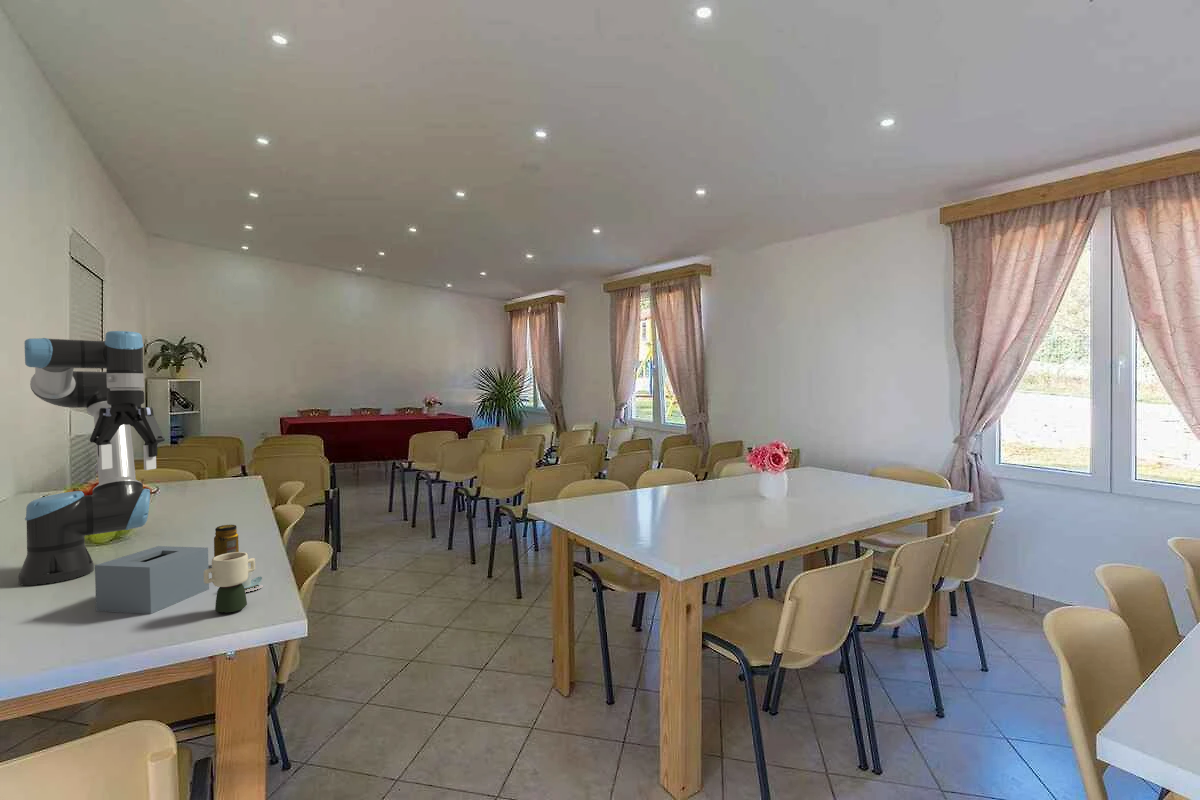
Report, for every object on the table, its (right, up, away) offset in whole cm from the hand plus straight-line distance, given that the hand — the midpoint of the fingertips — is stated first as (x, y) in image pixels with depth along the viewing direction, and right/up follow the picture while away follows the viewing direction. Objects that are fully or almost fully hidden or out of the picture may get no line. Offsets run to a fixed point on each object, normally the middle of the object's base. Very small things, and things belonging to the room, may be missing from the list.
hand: (128, 469), depth 145 cm
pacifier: (+34, -32, -2) cm, 46 cm away
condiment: (+15, -32, +17) cm, 39 cm away
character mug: (+38, -32, -16) cm, 52 cm away
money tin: (+14, -32, -8) cm, 36 cm away
